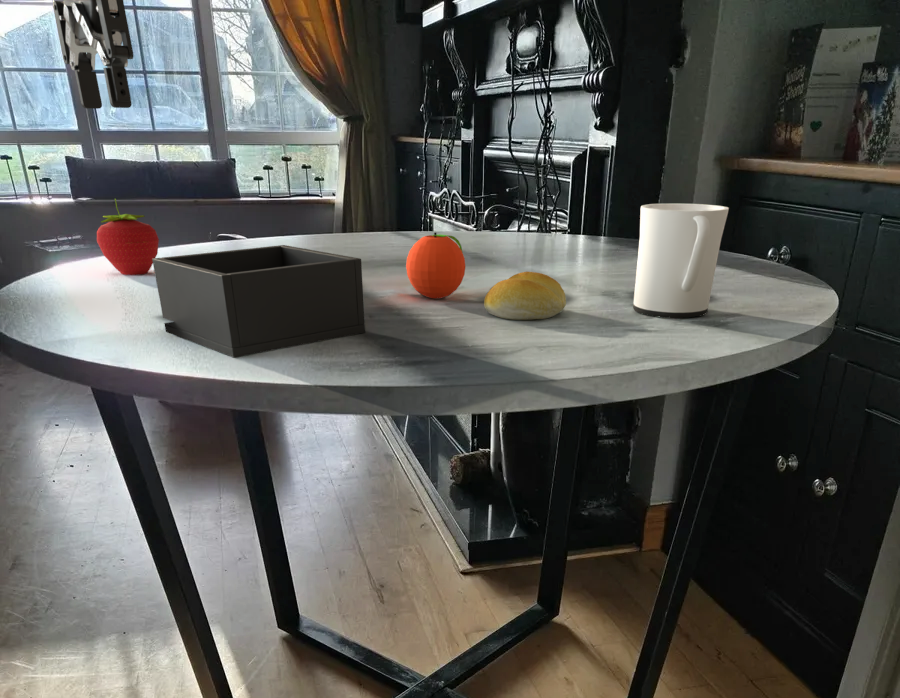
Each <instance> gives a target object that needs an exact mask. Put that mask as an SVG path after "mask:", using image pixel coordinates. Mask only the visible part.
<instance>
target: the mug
mask: <svg viewBox="0 0 900 698" xmlns="http://www.w3.org/2000/svg"><path fill="white" fill-rule="evenodd" d="M729 209H730V207H728V206H723V205H716V204H705V203H649V204H642V205H641V206H640V215H639V218H640V219H639V241H638V253H637V263H636V273H635V281H634V294H633V303H632V304H633V306H632V307H633V310H634V311H635V312H636V311H637V312H636V313H638V312H639V313H638V314H641V313H643V314H642V315H644V314H648V315H647V316H649V315H653V316H652V317H655V316H660V317H659V318H664V317H670V318H669V319H684V318H683V317H692V318H695V317H694V316H699V317H701V316H700V315H702V316H704V315H706V314H707V313H708V310H709V305H710V300H711V294H712V289H713V283H714V278H715V274H716V270H717V269H716V268H717V262H718V257H719V253H720V247H721V242H722V238H723V234H724V230H725V226H726V222H727V218H728V214H729ZM706 312H707V313H706ZM705 313H706V314H705ZM703 314H704V315H703Z"/></svg>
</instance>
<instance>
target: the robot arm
mask: <svg viewBox="0 0 900 698" xmlns="http://www.w3.org/2000/svg"><path fill="white" fill-rule="evenodd" d="M52 8H53V12H54V18H55V24H56V28H57V34H58V38H59V45H60V49H61V55H62V59H63V62H64V64H65V65H70V69H71V70H72V71H74V74H75V79H76V80H75V81H76V84H77V90H78V94H79V99H80V103H81V104H80V105H81V106H82V107H83V108H84V109H89V110H90V109H91V110H92V109H94V110H95V109H96V110H97V109H98V110H99V109H101V108H102V106H103V103H102V97H101V96H102V95H101V92H100V91H101V90H100V87H99V81H98V76H97V72H96V71H95V70H96V55H97V54H98V56H99V58H100V60H101V63H102V65H103V66H104V67H103V69H102V70H103V73H104V79H105V85H106V89H107V95H108V100H109V105H110V106H111V107H112V108H114V109H118V108H119V109H129V108H131V107H132V98H131V91H130V87H129V81H128V75H127V70H126V68H127V67H128V65H129V60H133V59H134V50H133V49H134V48H133V44H132V39H131V34H130V27H129V23H128V18H127V12H126V7H125V2H124V0H63V1H61V0H53V1H52Z"/></svg>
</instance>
